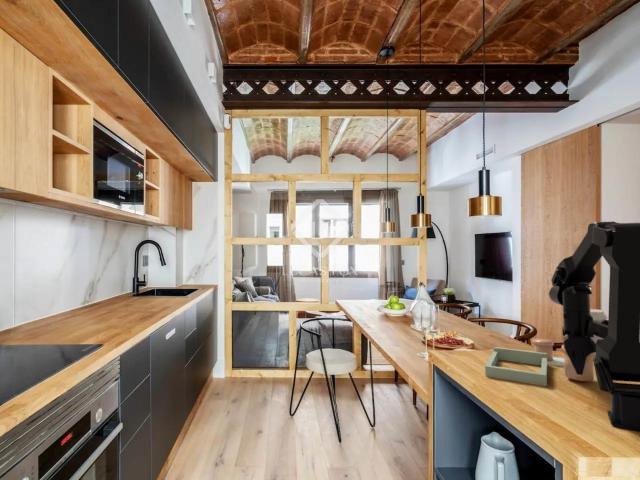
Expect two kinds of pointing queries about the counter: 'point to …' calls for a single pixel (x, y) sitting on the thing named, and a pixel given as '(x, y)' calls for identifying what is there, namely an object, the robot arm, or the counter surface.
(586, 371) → the pot
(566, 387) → the counter surface
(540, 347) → the pot
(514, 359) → the green shallow rectangular frame
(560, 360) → the white square board
